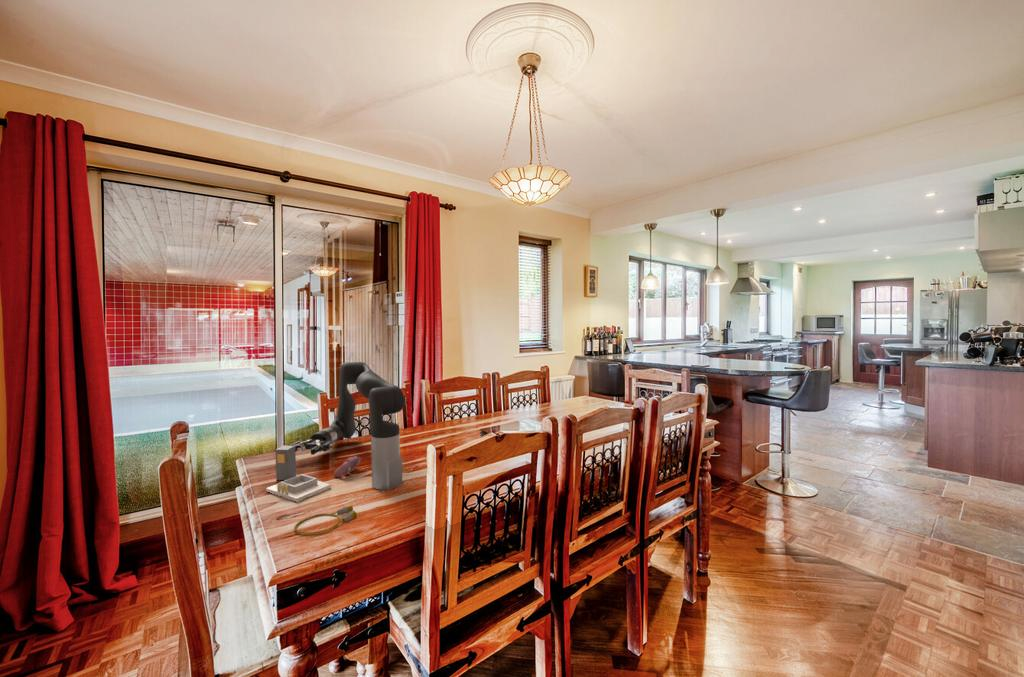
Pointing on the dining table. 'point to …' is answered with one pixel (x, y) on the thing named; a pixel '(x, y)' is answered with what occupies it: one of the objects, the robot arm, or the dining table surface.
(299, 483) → the board
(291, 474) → the block
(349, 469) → the purple lumpy piece
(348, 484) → the dining table surface
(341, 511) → the extension cord
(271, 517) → the dining table surface
